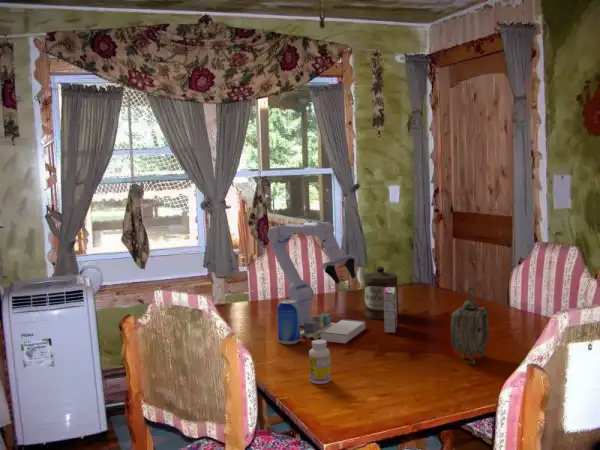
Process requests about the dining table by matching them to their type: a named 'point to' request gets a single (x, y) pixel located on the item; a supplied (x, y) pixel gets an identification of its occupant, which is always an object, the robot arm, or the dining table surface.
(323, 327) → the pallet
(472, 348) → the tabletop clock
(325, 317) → the block
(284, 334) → the beer can
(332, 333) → the dock
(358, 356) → the dining table surface
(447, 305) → the dining table surface
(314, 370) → the supplement bottle
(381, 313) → the wooden container
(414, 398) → the dining table surface
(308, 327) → the grey cube
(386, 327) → the candy bar box
